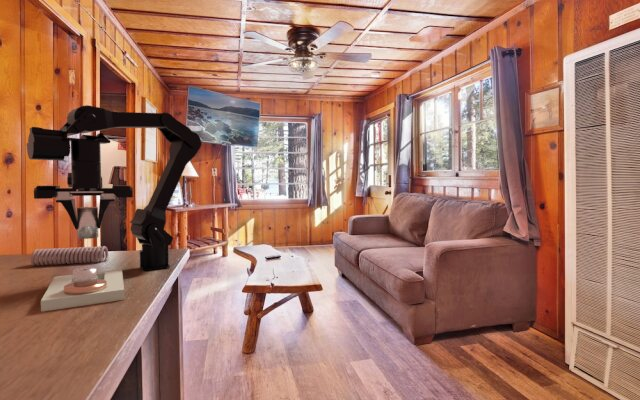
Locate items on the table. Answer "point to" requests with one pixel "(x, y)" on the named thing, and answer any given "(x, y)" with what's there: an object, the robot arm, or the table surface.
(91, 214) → the loose cylinder
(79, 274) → the copper flanged knob
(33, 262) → the coil
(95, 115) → the robot arm
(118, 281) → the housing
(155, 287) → the table surface
